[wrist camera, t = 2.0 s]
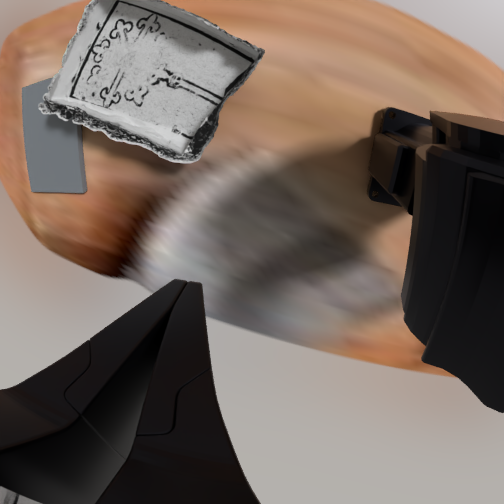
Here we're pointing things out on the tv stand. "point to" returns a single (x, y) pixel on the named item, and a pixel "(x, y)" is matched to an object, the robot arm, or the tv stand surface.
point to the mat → (51, 146)
